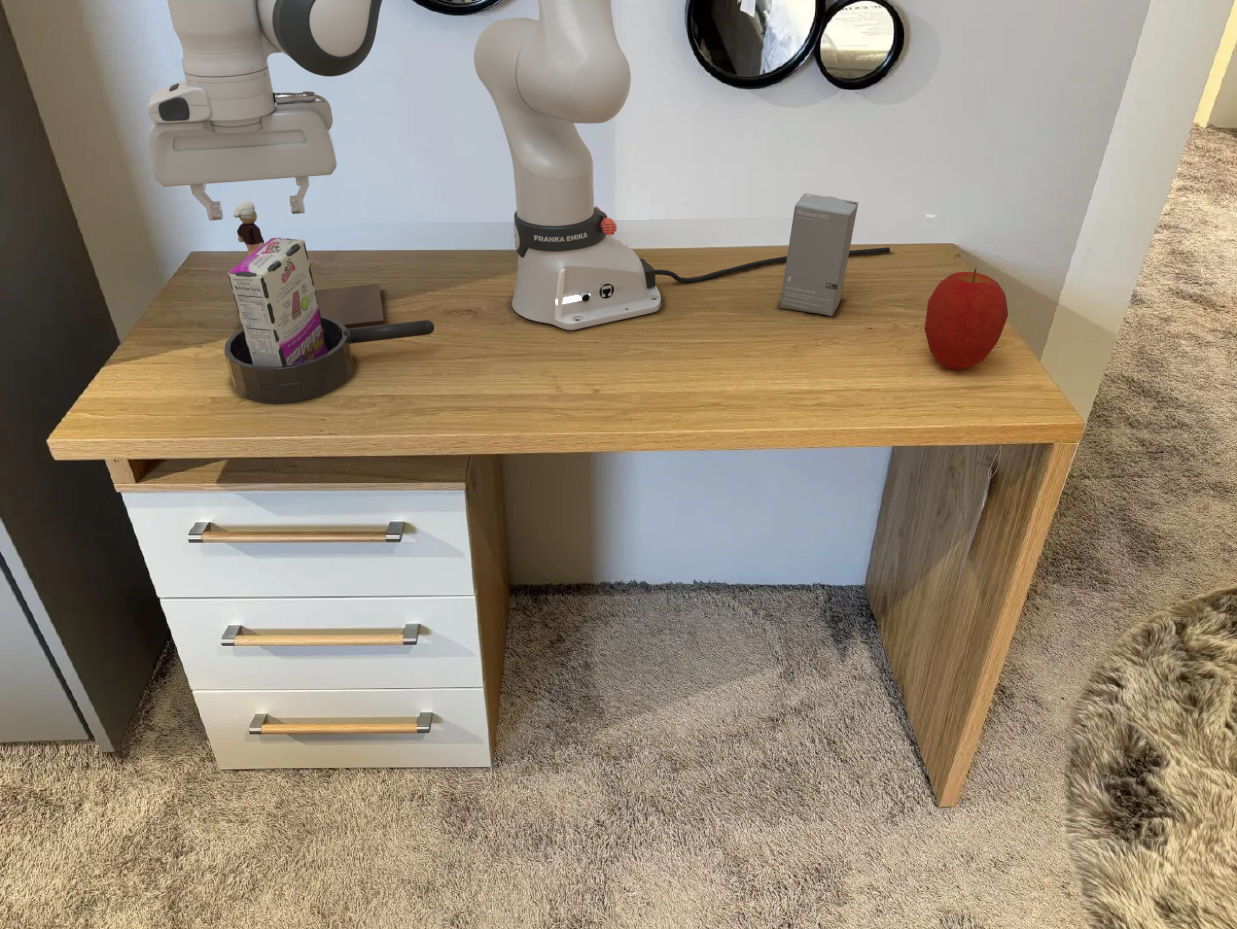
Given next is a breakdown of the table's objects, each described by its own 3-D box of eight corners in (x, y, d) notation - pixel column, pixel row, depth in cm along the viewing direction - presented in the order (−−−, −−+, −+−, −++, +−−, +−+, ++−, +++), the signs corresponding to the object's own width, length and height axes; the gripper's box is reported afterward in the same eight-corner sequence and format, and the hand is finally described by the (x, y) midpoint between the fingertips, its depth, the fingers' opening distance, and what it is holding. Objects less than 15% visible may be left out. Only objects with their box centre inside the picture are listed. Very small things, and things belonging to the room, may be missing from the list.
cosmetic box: (779, 309, 143) (789, 206, 134) (790, 290, 149) (801, 190, 140) (835, 318, 141) (850, 213, 132) (845, 299, 146) (859, 197, 137)
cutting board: (380, 292, 148) (378, 283, 147) (385, 329, 138) (383, 319, 137) (245, 306, 144) (242, 297, 143) (239, 346, 134) (237, 336, 133)
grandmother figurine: (287, 279, 152) (271, 201, 145) (268, 288, 149) (250, 209, 142) (255, 269, 156) (237, 192, 148) (235, 277, 153) (216, 200, 146)
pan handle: (434, 329, 130) (432, 316, 129) (435, 336, 129) (434, 322, 127) (343, 340, 128) (341, 326, 127) (344, 347, 126) (341, 333, 125)
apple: (1008, 379, 126) (1034, 281, 118) (935, 385, 125) (957, 286, 117) (972, 343, 134) (994, 248, 126) (904, 348, 133) (922, 253, 125)
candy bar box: (296, 349, 132) (271, 235, 123) (329, 352, 131) (307, 238, 122) (255, 389, 123) (225, 270, 114) (291, 393, 122) (263, 274, 113)
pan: (351, 340, 135) (345, 308, 132) (355, 394, 123) (349, 360, 120) (237, 353, 132) (228, 320, 129) (229, 410, 120) (220, 375, 117)
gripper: (327, 83, 112) (346, 199, 120) (139, 93, 107) (171, 213, 115) (328, 97, 107) (347, 217, 115) (131, 107, 102) (165, 231, 110)
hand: (257, 215), depth 115 cm, fingers open, 8 cm apart
